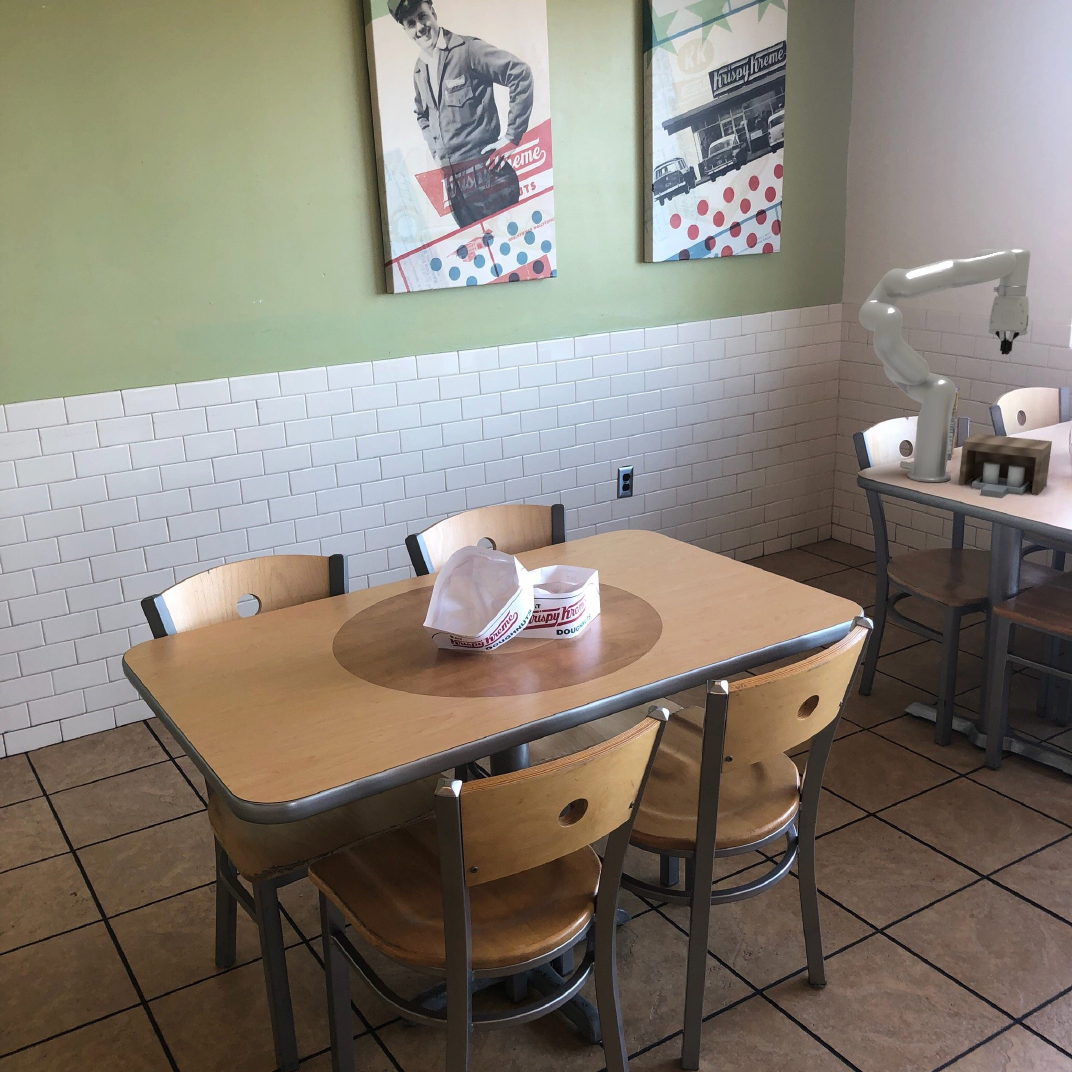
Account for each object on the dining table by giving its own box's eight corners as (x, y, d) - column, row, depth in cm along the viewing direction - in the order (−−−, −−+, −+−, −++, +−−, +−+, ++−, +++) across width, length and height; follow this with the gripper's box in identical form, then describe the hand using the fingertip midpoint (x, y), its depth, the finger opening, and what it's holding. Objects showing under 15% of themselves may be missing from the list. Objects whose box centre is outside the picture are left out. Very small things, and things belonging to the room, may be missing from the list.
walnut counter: (958, 484, 318) (962, 441, 314) (969, 476, 327) (973, 433, 323) (1037, 495, 305) (1042, 449, 301) (1046, 485, 314) (1052, 441, 310)
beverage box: (928, 458, 349) (934, 392, 342) (931, 451, 358) (937, 386, 352) (950, 460, 346) (957, 393, 339) (953, 452, 356) (959, 387, 349)
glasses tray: (965, 493, 309) (968, 471, 307) (980, 480, 321) (983, 459, 319) (1016, 499, 301) (1019, 477, 299) (1030, 487, 313) (1032, 465, 311)
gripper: (982, 292, 314) (976, 354, 319) (1036, 293, 305) (1029, 357, 311) (989, 289, 319) (982, 350, 325) (1042, 291, 311) (1035, 353, 317)
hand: (1005, 353), depth 318 cm, fingers closed
